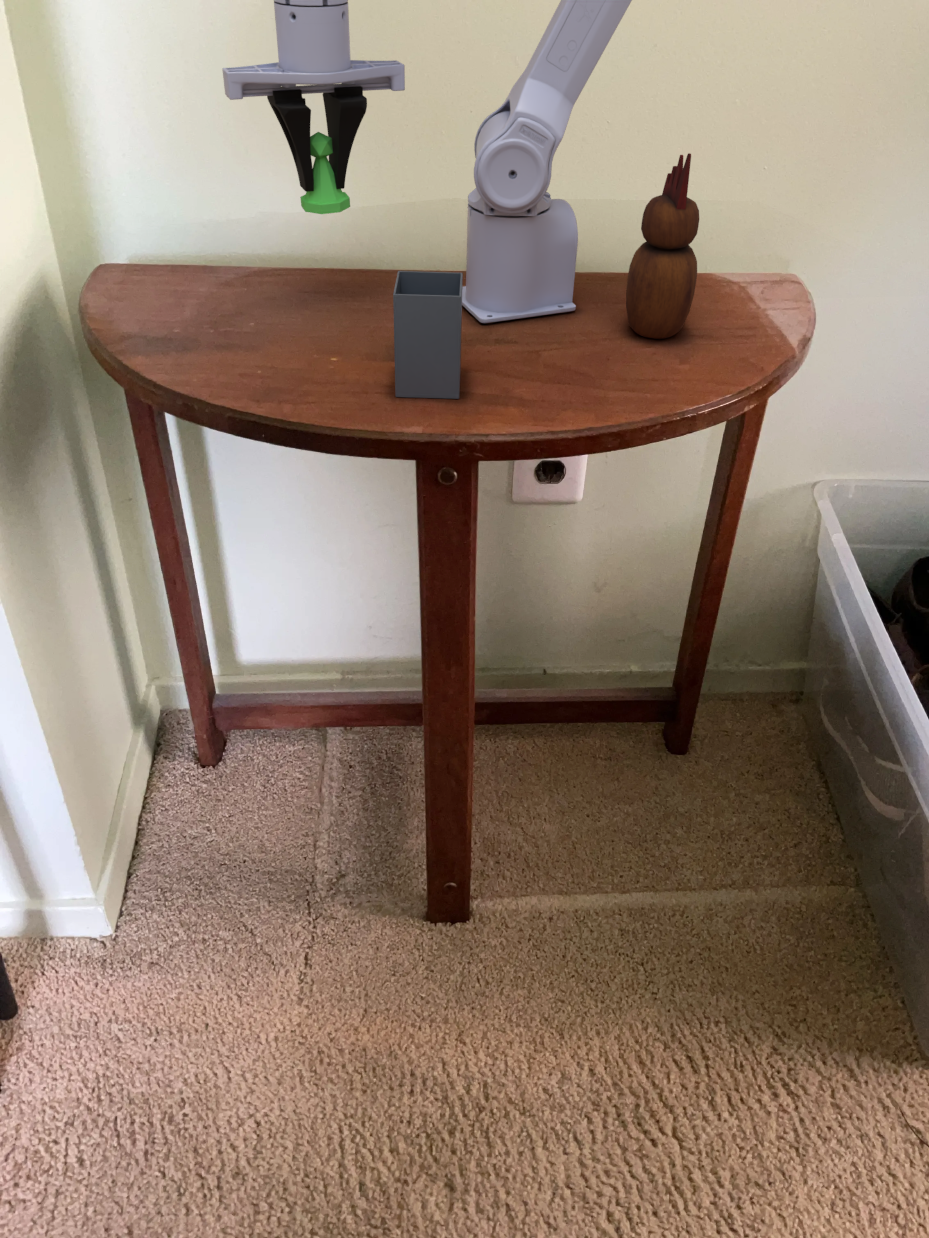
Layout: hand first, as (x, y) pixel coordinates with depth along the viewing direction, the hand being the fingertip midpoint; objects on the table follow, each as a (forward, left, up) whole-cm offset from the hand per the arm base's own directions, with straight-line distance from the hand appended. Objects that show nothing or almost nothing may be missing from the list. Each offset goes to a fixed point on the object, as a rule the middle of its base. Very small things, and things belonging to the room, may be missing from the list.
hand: (322, 187), depth 85 cm
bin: (-2, +20, -10) cm, 22 cm away
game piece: (0, 0, -2) cm, 2 cm away
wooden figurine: (-25, +16, -10) cm, 31 cm away
